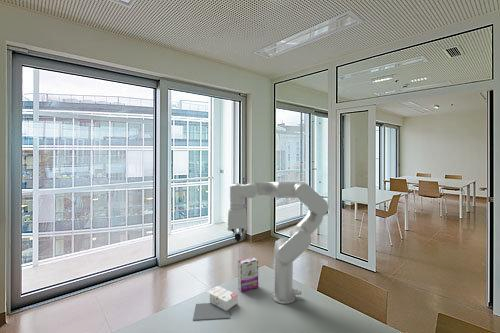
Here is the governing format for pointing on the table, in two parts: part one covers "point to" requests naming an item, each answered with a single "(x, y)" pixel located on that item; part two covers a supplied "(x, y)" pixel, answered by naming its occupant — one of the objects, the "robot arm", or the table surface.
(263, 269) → the table surface
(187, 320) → the table surface
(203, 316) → the mat
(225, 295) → the ink cartridge box
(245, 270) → the candy bar box
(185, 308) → the table surface
